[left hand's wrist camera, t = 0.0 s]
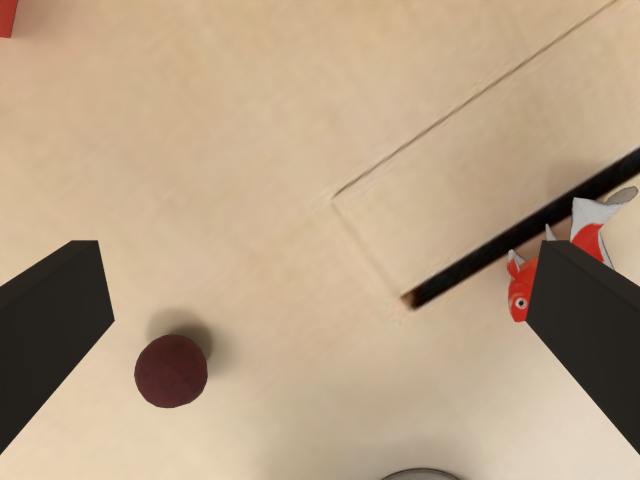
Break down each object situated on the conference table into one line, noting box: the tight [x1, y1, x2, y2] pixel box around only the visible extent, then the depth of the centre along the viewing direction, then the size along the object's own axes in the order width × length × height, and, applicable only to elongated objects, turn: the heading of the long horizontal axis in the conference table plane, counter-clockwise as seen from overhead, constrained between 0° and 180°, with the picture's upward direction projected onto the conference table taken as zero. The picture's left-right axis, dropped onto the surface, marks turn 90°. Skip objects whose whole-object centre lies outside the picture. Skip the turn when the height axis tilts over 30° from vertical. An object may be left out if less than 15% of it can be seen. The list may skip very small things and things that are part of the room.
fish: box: [507, 186, 638, 322], centre depth 38 cm, size 11×16×10 cm
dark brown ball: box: [134, 335, 208, 408], centre depth 43 cm, size 7×8×7 cm
